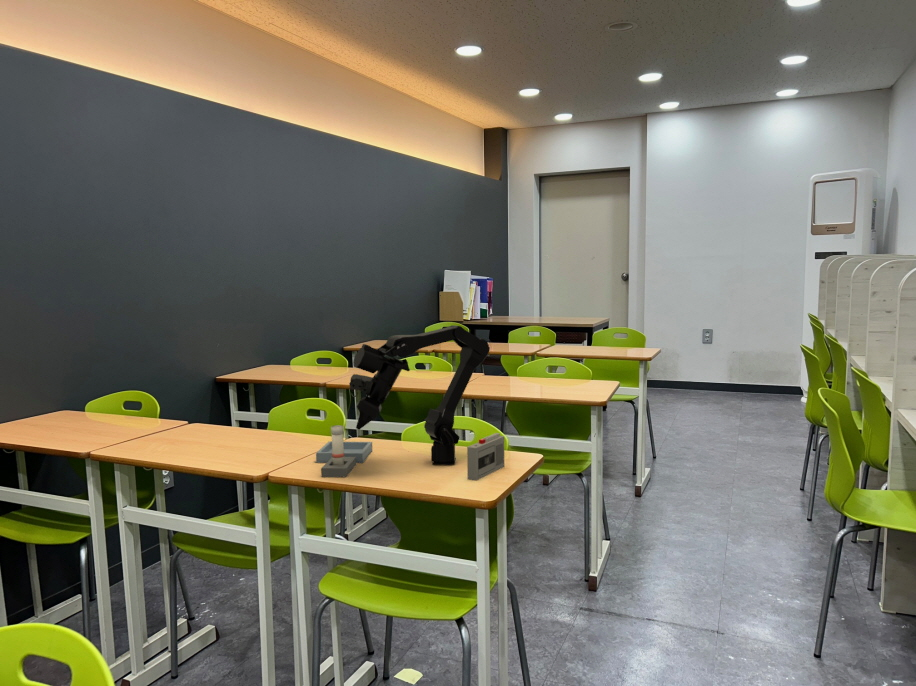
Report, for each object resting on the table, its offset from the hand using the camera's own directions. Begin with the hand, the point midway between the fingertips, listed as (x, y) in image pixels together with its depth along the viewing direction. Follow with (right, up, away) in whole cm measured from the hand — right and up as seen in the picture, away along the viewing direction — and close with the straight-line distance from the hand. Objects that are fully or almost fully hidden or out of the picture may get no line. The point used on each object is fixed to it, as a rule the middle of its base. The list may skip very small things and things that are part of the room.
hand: (360, 423), depth 187 cm
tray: (-7, -12, +14) cm, 20 cm away
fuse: (-6, -14, -2) cm, 15 cm away
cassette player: (+36, -14, -4) cm, 39 cm away
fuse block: (-6, -13, -1) cm, 15 cm away
